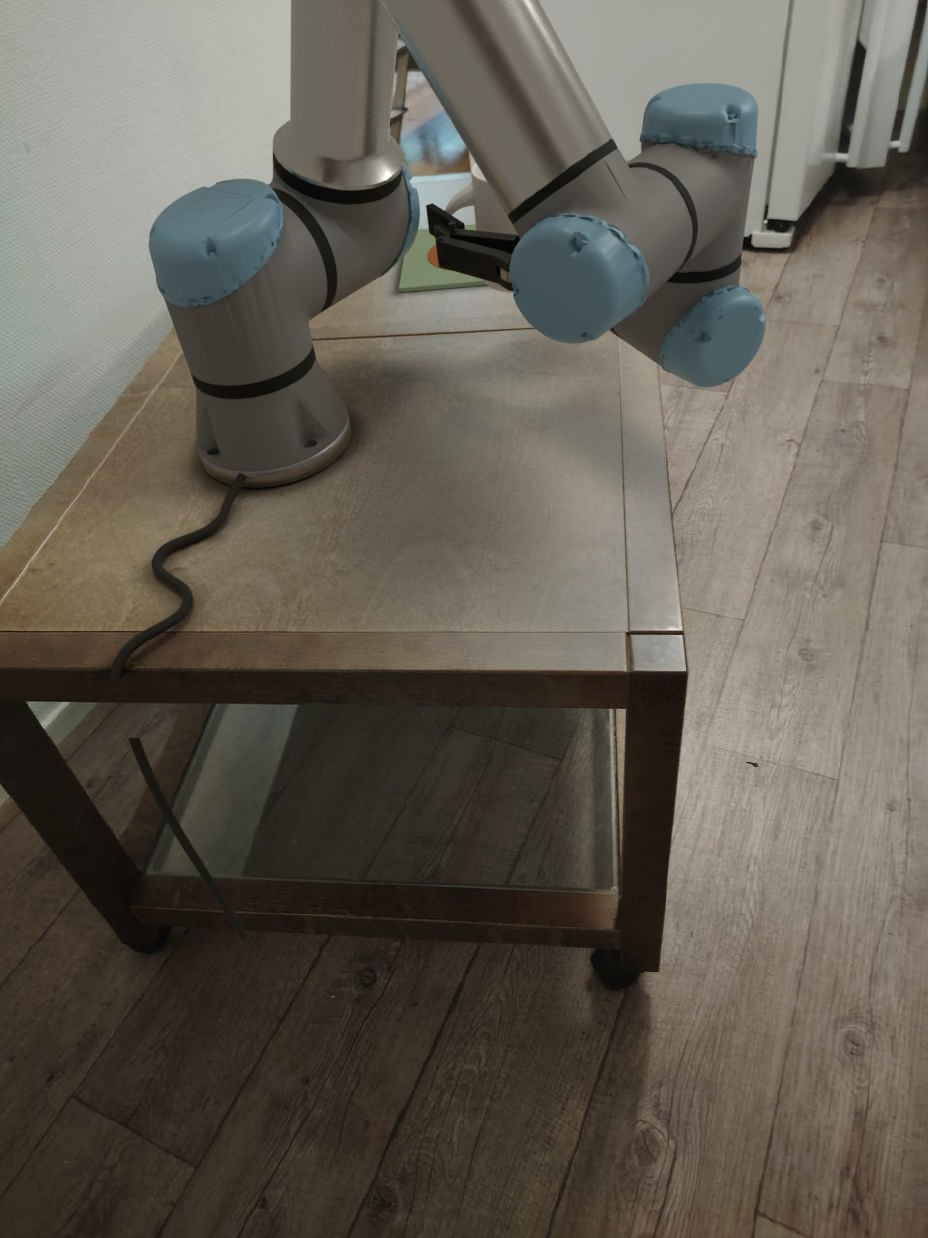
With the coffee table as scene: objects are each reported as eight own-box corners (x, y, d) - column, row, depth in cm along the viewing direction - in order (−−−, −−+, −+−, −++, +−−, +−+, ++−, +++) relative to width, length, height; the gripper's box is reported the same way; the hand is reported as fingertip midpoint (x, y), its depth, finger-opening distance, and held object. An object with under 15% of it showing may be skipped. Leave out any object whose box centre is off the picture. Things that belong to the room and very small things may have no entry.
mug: (445, 267, 95) (433, 159, 87) (557, 253, 95) (555, 144, 87) (449, 304, 89) (437, 192, 81) (569, 289, 89) (568, 175, 81)
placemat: (543, 280, 110) (543, 274, 110) (399, 292, 112) (398, 287, 111) (538, 222, 123) (538, 217, 122) (408, 234, 124) (408, 229, 124)
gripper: (492, 360, 75) (383, 272, 89) (717, 278, 81) (582, 208, 96) (485, 273, 69) (371, 194, 84) (726, 192, 76) (582, 132, 90)
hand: (483, 201), depth 90 cm, fingers closed on mug, 11 cm apart
